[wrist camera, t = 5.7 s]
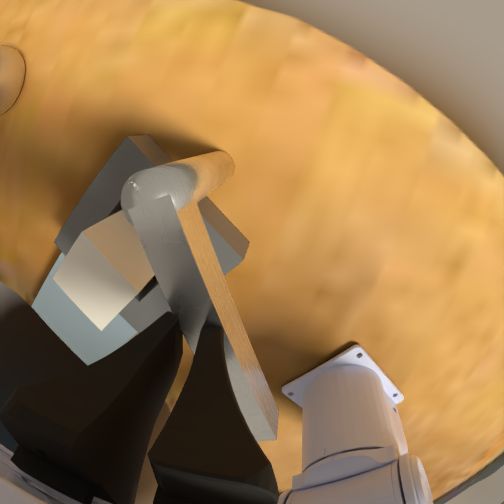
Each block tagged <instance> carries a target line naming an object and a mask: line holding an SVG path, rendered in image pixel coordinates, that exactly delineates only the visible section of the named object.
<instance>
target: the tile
mask: <svg viewBox="0 0 504 504" xmlns="http://www.w3.org/2000/svg"><path fill="white" fill-rule="evenodd" d="M65 257H66V256H65V255H64V254H63V253H61V254H60V256H59V258H58V259H57V261H56V263H55V264H54V266H53V268H52V269H51V271H50V273H49V275H48V276H47V278H46V280H45V282H44V284H43V285H42V287H41V289H40V291H39V293H38V295H37V297H36V299H35V301H34V302H33V304H32V308H33V309H34V310H35V311H36V312H37V313H38V315H39V316H40V317H41V318H42V319H43V320H44V321H45V323H46V324H47V325H48V326H49V327H50V328H51V329H52V330H53V331H54V332H55V333H56V334H57V335H58V336H59V338H60V339H61V340H62V341H63V342H64V343H65V344H66V345H67V346H68V347H69V348H70V349H71V350H72V351H73V352H74V353H75V354H76V355H77V356H78V357H79V358H80V359H81V360H82V361H83V362H85V363H86V364H87V365H90V364H92V363H94V362H96V361H98V360H100V359H102V358H104V357H105V356H107V355H109V354H110V353H112V352H114V351H115V350H117V349H118V348H120V347H121V346H122V345H124V344H125V343H126V342H128V341H129V340H130V339H131V338H132V337H133V336H135V335H136V334H137V333H138V332H137V331H136V330H135V329H134V328H133V327H132V326H131V325H130V324H129V323H128V322H127V321H126V320H125V319H124V318H123V317H122V316H121V315H119V314H117V315H116V316H115V317H114V318H113V319H112V320H111V321H110V323H109V324H108V325H107V326H106V327H105V328H104V329H103V330H102V331H101V330H100V329H99V328H98V327H97V326H96V325H95V324H94V323H93V322H92V321H91V320H90V319H89V318H88V317H87V316H86V315H85V314H84V313H83V312H82V311H81V310H80V309H79V308H78V306H77V305H76V304H75V303H74V302H73V301H72V300H71V299H70V298H69V297H68V296H67V294H66V293H65V292H64V291H63V290H62V289H61V288H60V287H59V285H58V284H57V283H56V282H55V281H54V280H53V276H54V275H55V273H56V271H57V270H58V268H59V266H60V265H61V263H62V262H63V260H64V258H65Z"/></svg>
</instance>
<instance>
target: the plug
mask: <svg viewBox="0 0 504 504" xmlns="http://www.w3.org/2000/svg"><path fill="white" fill-rule="evenodd" d="M154 275H155V274H154V272H153V270H152V267H151V265H150V263H149V260H148V258H147V256H146V254H145V251H144V249H143V246H142V244H141V242H140V239H139V237H138V234H137V232H136V229H135V227H134V226H133V225H132V224H131V223H130V222H129V221H128V220H127V218H126V217H125V215H124V213H123V210H121V211H119V212H117V213H115V214H113V215H111V216H109V217H107V218H106V219H104V220H102V221H100V222H98V223H96V224H95V225H93V226H91V227H89V228H87V229H86V230H84V231H82V232H81V234H80V235H79V237H78V238H77V240H76V241H75V243H74V244H73V246H72V247H71V249H70V250H69V252H68V254H67V255H66V257H65V258H64V260H63V262H62V263H61V265H60V266H59V268H58V270H57V271H56V273H55V275H54V276H53V280H54V281H55V282H56V283H57V284H58V285H59V287H60V288H61V289H62V290H63V291H64V292H65V293H66V294H67V296H68V297H69V298H70V299H71V300H72V301H73V302H74V303H75V304H76V305H77V306H78V308H79V309H80V310H81V311H82V312H83V313H84V314H85V315H86V316H87V317H88V318H89V319H90V320H91V321H92V322H93V323H94V324H95V325H96V326H97V327H98V328H99V329H100V330H101V331H102V330H103V329H104V328H105V327H106V326H107V325H108V324H109V323H110V321H111V320H112V319H113V318H114V317H115V316H116V315H117V314H118V313H119V312H120V311H121V310H122V309H123V308H124V307H125V306H126V305H127V304H128V303H129V302H130V301H131V300H132V299H133V298H134V297H135V296H136V295H137V294H138V293H139V292H140V291H141V290H142V289H143V287H144V286H145V285H146V284H147V283H148V282H149V281H150V280H151V278H152V277H153V276H154Z"/></svg>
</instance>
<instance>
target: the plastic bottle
mask: <svg viewBox="0 0 504 504" xmlns="http://www.w3.org/2000/svg"><path fill="white" fill-rule="evenodd" d="M24 76H25V64H24V60H23V58H22V56H21V54H20V53H19V52H18V51H17V50H16V49H13V48H11V47H8V46H4V45H2V46H0V115H1V114H3V113H4V112H6V111H7V110H8V109H9V108H10V107H11V106H12V105H13V104H14V102H15V101H16V99H17V97H18V95H19V93H20V91H21V88H22V85H23V81H24Z"/></svg>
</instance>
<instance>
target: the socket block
mask: <svg viewBox="0 0 504 504" xmlns="http://www.w3.org/2000/svg"><path fill="white" fill-rule="evenodd" d="M171 162H174V161H173V160H172V159H171V158H170V157H169V156H168V155H167V153H166V152H165V151H164V150H163V149H162V148H161V147H160V146H159V145H158V144H157V143H156V142H155V141H154V140H153V139H152V138H151V136H150V135H135V136H127V137H126V138H125V140H124V141H123V142H122V143H121V145H120V146H119V147H118V148H117V150H116V151H115V152H114V153H113V155H112V156H111V157H110V159H109V160H108V161H107V163H106V164H105V165H104V167H103V168H102V169H101V171H100V172H99V173H98V175H97V176H96V177H95V179H94V180H93V182H92V183H91V185H90V186H89V187H88V189H87V190H86V192H85V193H84V195H83V196H82V198H81V199H80V201H79V202H78V204H77V205H76V207H75V208H74V210H73V211H72V213H71V215H70V216H69V218H68V219H67V221H66V223H65V224H64V226H63V227H62V229H61V231H60V232H59V234H58V236H57V238H56V239H55V241H54V243H55V244H56V245H57V247H58V248H59V249H60V250H61V251H62V253H63V254H64V255H65V256H66V255H67V254H68V252H69V250H70V249H71V247H72V246H73V244H74V243H75V241H76V240H77V238H78V237H79V235H80V234H81V232H82V231H84V230H86V229H87V228H89V227H91V226H93V225H95V224H96V223H98V222H100V221H102V220H104V219H106V218H107V217H109V216H111V215H113V214H115V213H117V212H119V211H121V210H122V206H121V192H122V188H123V186H124V184H125V182H126V181H127V180H128V178H129V177H130V176H132V175H133V174H135V173H137V172H139V171H142V170H146V169H149V168H153V167H156V166H160V165H163V164H167V163H171ZM197 205H198V208H199V211H200V213H201V216H202V219H203V222H204V224H205V227H206V230H207V232H208V235H209V238H210V241H211V243H212V246H213V249H214V251H215V254H216V256H217V259H218V262H219V264H220V267H221V270H222V272H223V275H226V274H227V273H228V272H229V271H230V270H232V269H233V268H234V267H235V266H237V265H238V264H239V263H240V262H242V261H243V260H244V257H245V254H246V252H247V249H248V246H249V243H250V242H249V241H248V240H247V239H246V238H245V237H244V236H243V235H242V233H241V232H240V231H239V230H238V229H237V228H236V227H235V226H234V225H233V224H232V223H231V222H230V221H229V220H228V218H227V217H226V216H225V215H224V214H223V213H222V212H221V211H220V210H219V209H218V208H217V207H216V206H215V205H214V204H213V202H212V201H211V200H210V199H209V198H208V197H207V196H206V197H204V198H203V199H202V200H200V201H199V202H198V203H197ZM167 311H169V312H172V311H171V309H170V306H169V304H168V302H167V300H166V298H165V296H164V294H163V292H162V289H161V287H160V285H159V283H158V281H157V282H155V281H154V280H153V279H152V278H151V280H150V281H149V282H148V283H147V284H146V285H145V286H144V287H143V289H142V290H141V291H140V292H139V293H138V294H137V295H136V296H135V297H134V298H133V299H132V300H131V301H130V302H129V303H128V304H127V305H126V306H125V307H124V308H123V309H122V310H121V311H120V312H119V313H118V314H119V315H121V316H122V317H123V318H124V319H125V320H126V321H127V322H128V323H129V324H130V325H131V326H132V327H133V328H134V329H135V330H136V331H137V332H138V333H140V332H142V331H143V330H144V329H146V328H147V327H148V326H149V325H151V324H152V323H153V322H154V321H156V320H157V319H158V318H159V317H160V316H162V315H163V314H164V313H166V312H167Z"/></svg>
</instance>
